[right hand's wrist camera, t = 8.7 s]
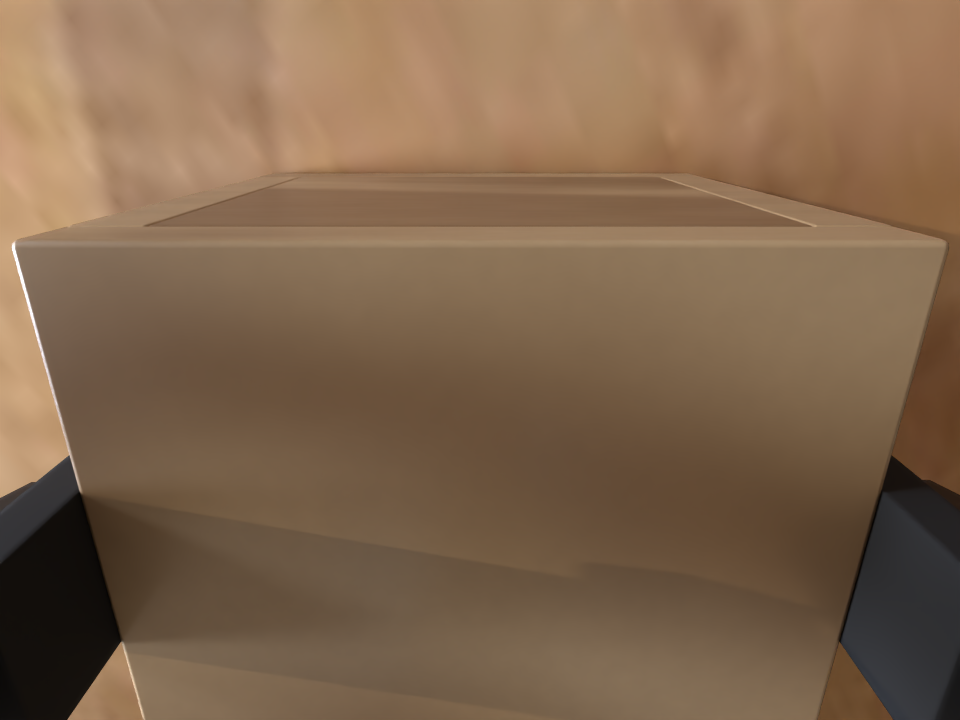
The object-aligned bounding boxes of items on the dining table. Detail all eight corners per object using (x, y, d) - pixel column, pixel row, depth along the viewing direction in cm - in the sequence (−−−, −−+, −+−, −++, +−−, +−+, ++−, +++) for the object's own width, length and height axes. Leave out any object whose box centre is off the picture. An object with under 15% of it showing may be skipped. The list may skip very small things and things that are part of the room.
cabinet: (621, 740, 24) (708, 1118, 15) (338, 739, 24) (252, 1118, 15) (689, 173, 16) (955, 240, 7) (271, 173, 16) (4, 240, 7)
